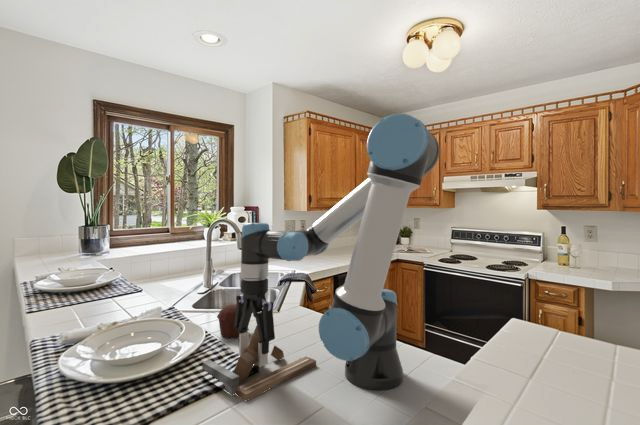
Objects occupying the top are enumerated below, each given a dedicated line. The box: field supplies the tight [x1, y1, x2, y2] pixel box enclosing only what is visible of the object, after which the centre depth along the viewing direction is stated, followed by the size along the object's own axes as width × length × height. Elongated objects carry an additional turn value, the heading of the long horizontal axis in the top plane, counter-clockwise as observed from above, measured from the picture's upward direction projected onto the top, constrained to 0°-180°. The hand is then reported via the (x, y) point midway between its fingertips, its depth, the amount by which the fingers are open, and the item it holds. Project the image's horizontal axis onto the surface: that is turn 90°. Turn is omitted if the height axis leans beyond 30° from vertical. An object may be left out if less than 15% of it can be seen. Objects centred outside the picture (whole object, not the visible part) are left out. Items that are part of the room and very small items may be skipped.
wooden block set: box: [233, 325, 285, 384], centre depth 90 cm, size 18×9×10 cm, turn 155°
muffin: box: [216, 303, 248, 340], centre depth 116 cm, size 12×11×10 cm
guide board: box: [202, 356, 317, 401], centre depth 88 cm, size 17×25×4 cm
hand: (252, 360), depth 91 cm, fingers closed on wooden block set, 8 cm apart
